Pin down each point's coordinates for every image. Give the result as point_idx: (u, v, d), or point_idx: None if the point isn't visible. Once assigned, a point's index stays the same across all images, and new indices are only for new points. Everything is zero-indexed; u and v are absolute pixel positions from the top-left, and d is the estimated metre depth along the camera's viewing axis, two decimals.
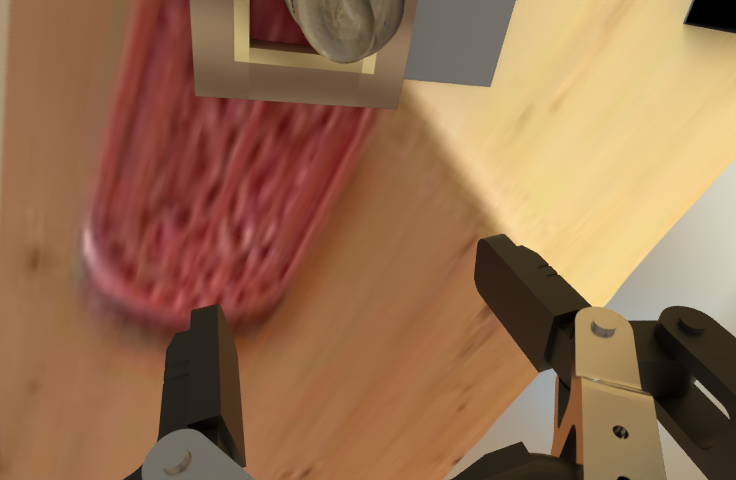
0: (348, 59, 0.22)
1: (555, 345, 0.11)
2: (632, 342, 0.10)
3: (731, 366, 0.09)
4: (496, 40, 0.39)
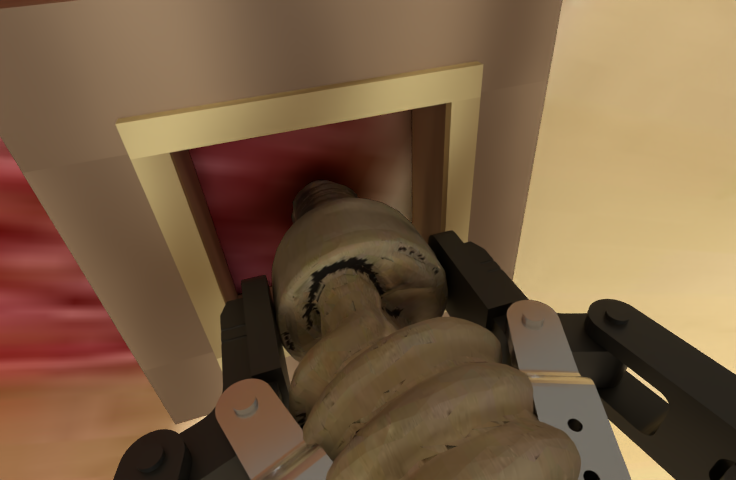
0: None
1: None
2: (557, 333, 0.10)
3: (660, 352, 0.09)
4: None
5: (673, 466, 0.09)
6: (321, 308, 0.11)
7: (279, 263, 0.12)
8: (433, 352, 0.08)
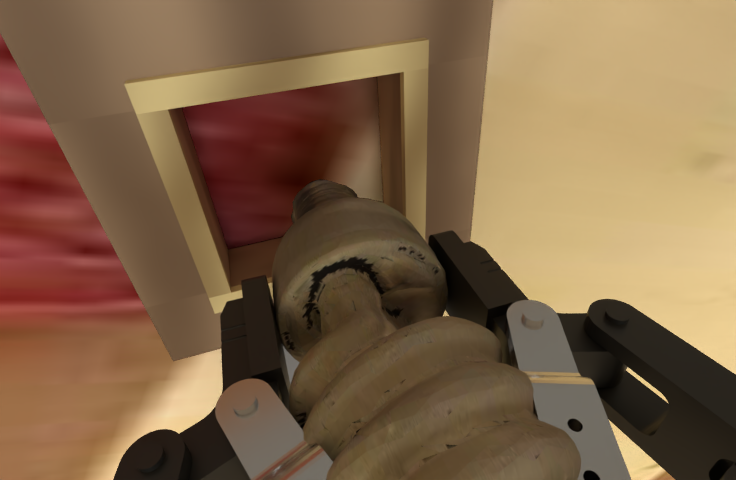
0: None
1: None
2: (557, 333, 0.10)
3: (660, 352, 0.09)
4: None
5: (673, 466, 0.09)
6: (321, 307, 0.11)
7: (279, 263, 0.12)
8: (433, 352, 0.08)
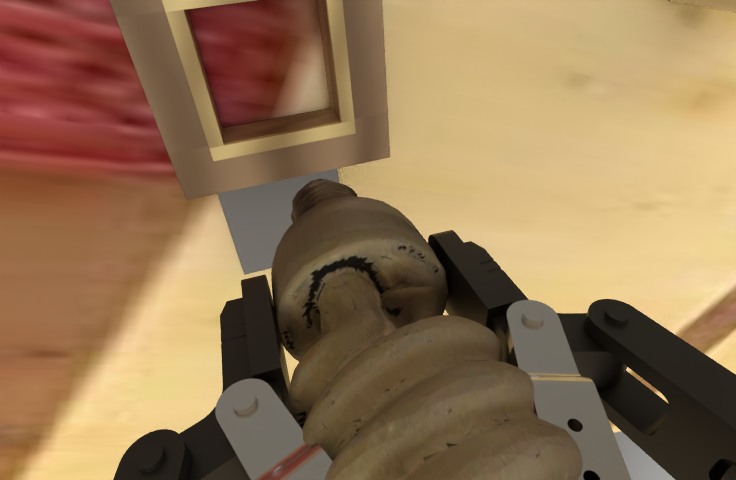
0: None
1: None
2: (557, 333, 0.10)
3: (660, 352, 0.09)
4: None
5: (673, 466, 0.09)
6: (321, 306, 0.11)
7: (279, 262, 0.12)
8: (433, 350, 0.08)
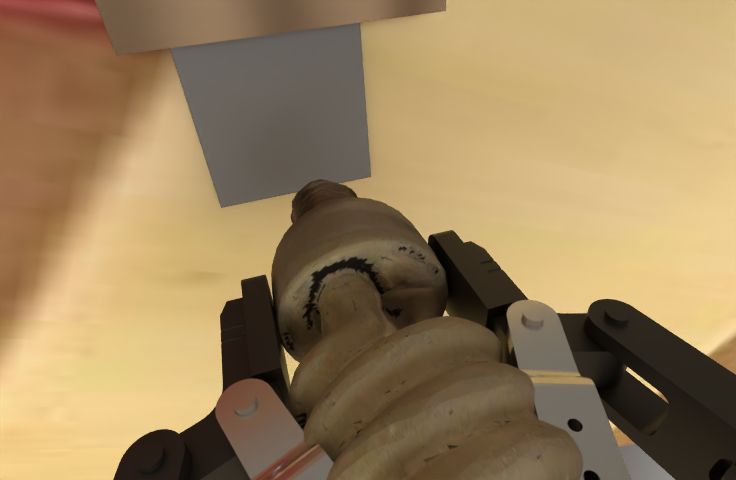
0: None
1: None
2: (557, 333, 0.10)
3: (660, 352, 0.09)
4: (281, 184, 0.28)
5: (673, 466, 0.09)
6: (321, 308, 0.11)
7: (279, 263, 0.12)
8: (434, 352, 0.08)
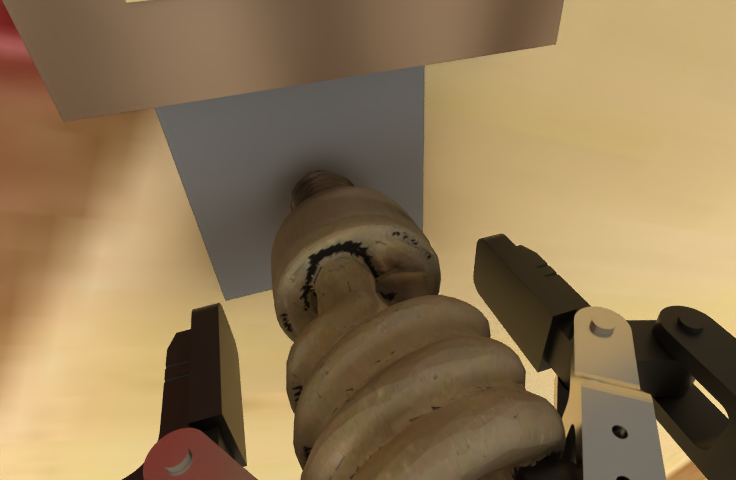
0: None
1: (554, 345, 0.11)
2: (631, 342, 0.10)
3: (730, 366, 0.09)
4: None
5: None
6: (318, 289, 0.12)
7: (278, 247, 0.13)
8: (422, 325, 0.09)
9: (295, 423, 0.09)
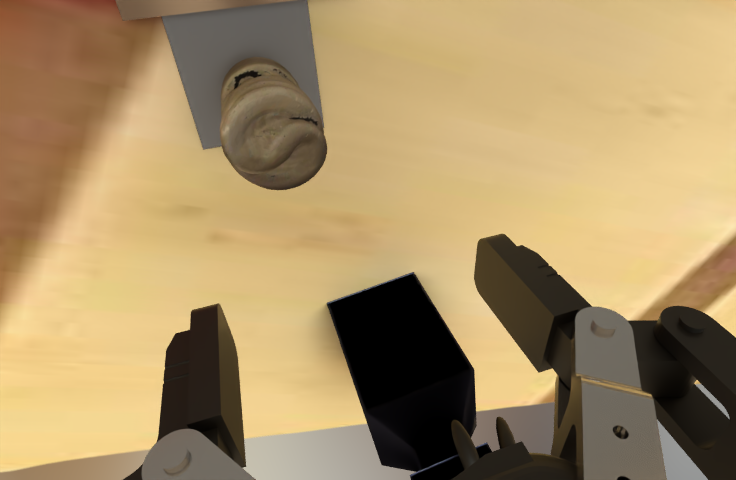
0: (230, 155, 0.21)
1: (555, 345, 0.11)
2: (632, 342, 0.10)
3: (731, 366, 0.09)
4: None
5: None
6: None
7: (223, 82, 0.27)
8: None
9: None
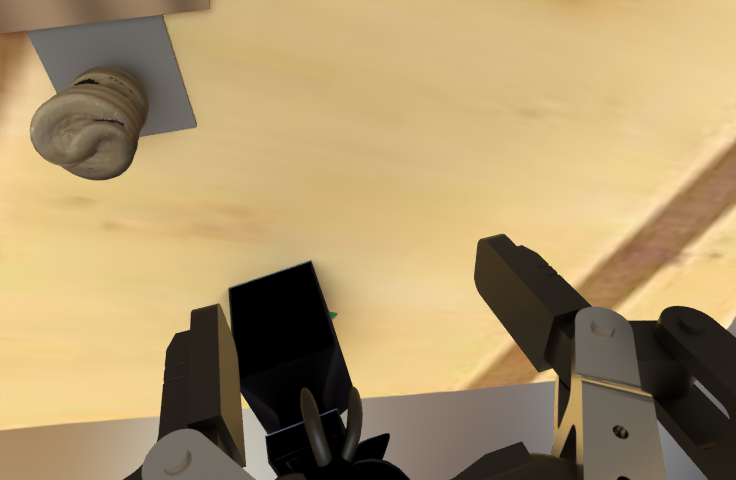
0: (39, 150, 0.26)
1: (555, 345, 0.11)
2: (632, 342, 0.10)
3: (731, 366, 0.09)
4: None
5: None
6: None
7: None
8: (85, 88, 0.28)
9: None
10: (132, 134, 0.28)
